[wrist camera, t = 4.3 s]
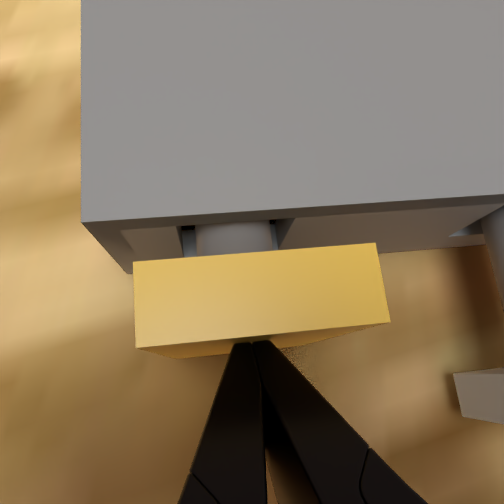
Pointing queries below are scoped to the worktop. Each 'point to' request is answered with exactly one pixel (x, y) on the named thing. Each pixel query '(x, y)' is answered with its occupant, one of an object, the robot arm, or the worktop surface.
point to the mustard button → (254, 293)
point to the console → (291, 122)
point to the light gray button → (497, 379)
